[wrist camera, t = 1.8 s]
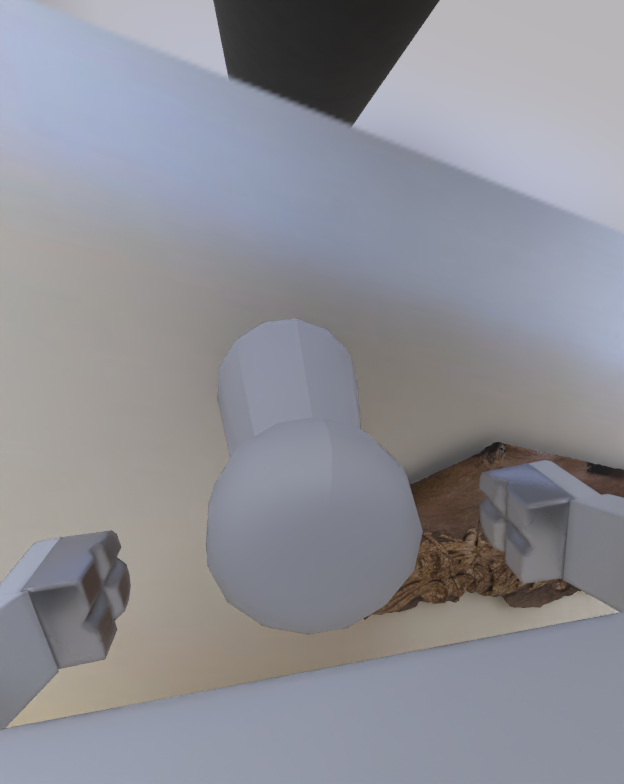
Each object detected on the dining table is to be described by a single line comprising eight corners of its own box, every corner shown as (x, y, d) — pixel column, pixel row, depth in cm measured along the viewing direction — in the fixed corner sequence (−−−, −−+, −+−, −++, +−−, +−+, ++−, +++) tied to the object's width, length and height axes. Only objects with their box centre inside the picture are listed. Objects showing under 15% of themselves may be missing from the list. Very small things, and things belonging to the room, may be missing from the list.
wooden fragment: (295, 618, 24) (296, 633, 23) (297, 443, 21) (298, 452, 20) (693, 585, 27) (709, 598, 26) (751, 428, 24) (772, 436, 23)
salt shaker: (370, 372, 20) (538, 556, 8) (287, 452, 21) (321, 731, 9) (283, 283, 18) (324, 342, 6) (196, 374, 19) (79, 586, 7)
